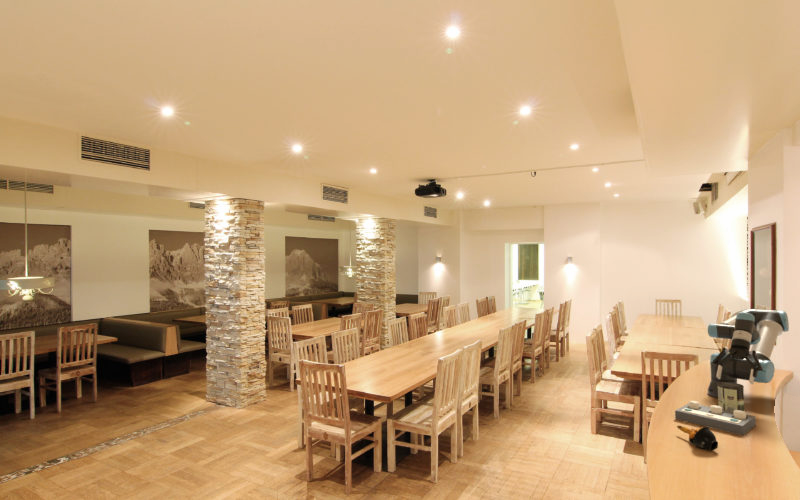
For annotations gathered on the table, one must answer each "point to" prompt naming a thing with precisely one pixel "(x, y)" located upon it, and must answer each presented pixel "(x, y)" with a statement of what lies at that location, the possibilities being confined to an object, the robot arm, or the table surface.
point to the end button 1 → (694, 405)
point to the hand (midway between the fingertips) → (734, 380)
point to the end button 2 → (740, 414)
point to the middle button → (716, 409)
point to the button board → (716, 419)
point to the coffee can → (731, 396)
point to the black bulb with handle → (701, 437)
